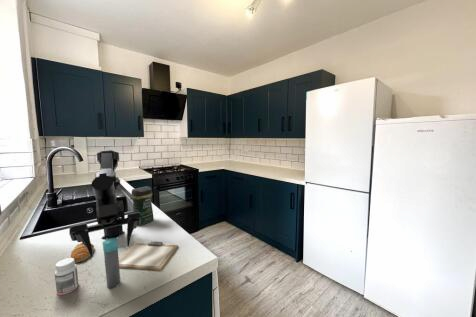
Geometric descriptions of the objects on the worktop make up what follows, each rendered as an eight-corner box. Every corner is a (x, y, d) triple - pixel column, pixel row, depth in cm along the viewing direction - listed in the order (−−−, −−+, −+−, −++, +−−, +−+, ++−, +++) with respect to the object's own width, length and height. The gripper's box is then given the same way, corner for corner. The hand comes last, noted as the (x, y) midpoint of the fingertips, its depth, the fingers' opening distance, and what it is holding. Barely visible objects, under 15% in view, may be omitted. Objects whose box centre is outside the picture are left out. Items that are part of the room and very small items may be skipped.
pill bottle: (65, 283, 58) (62, 257, 57) (82, 282, 58) (79, 256, 58) (52, 296, 53) (48, 267, 52) (70, 294, 54) (67, 266, 53)
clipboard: (110, 267, 65) (109, 262, 65) (136, 244, 79) (136, 240, 79) (160, 270, 63) (160, 265, 63) (178, 246, 77) (178, 242, 77)
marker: (103, 288, 56) (99, 244, 55) (112, 279, 59) (109, 237, 58) (114, 289, 56) (111, 244, 54) (123, 280, 59) (120, 238, 58)
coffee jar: (140, 227, 95) (137, 190, 93) (130, 224, 99) (127, 188, 97) (156, 219, 103) (154, 186, 101) (146, 217, 107) (144, 184, 105)
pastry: (92, 259, 70) (91, 249, 69) (68, 267, 66) (66, 256, 66) (94, 247, 78) (93, 238, 77) (72, 253, 74) (71, 244, 73)
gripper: (66, 199, 55) (65, 253, 48) (138, 188, 66) (147, 231, 58) (72, 216, 63) (71, 266, 55) (136, 205, 73) (143, 245, 66)
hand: (111, 251), depth 58 cm, fingers open, 9 cm apart
